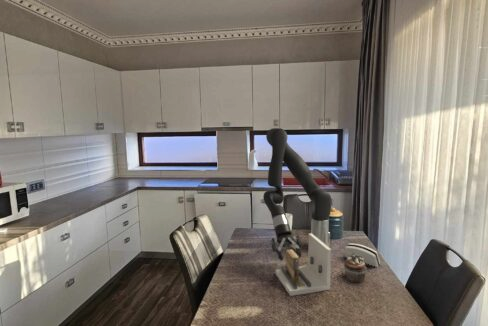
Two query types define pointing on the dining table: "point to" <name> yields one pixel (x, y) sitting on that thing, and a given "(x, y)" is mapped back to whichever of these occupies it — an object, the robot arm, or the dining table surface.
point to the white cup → (289, 219)
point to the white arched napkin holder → (363, 253)
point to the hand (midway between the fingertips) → (290, 258)
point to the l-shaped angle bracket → (310, 270)
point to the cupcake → (355, 268)
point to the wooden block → (292, 264)
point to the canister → (336, 224)
